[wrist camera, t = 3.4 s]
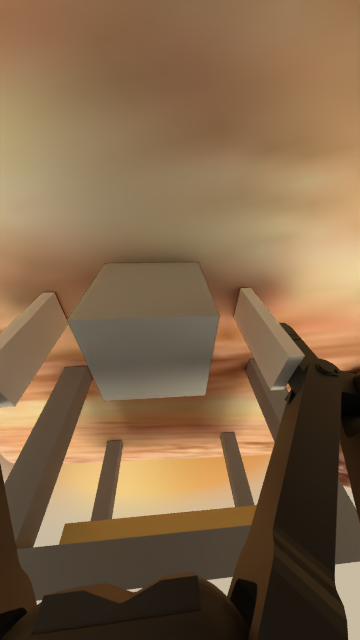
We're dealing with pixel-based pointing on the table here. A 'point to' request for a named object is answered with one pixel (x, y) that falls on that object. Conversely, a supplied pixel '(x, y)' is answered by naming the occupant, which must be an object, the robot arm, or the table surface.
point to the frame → (116, 554)
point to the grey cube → (147, 330)
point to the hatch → (156, 524)
